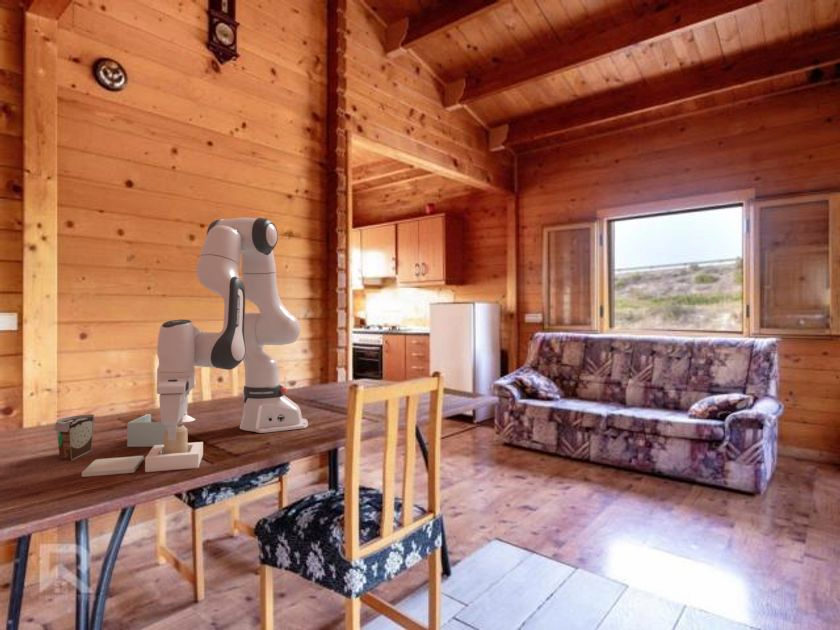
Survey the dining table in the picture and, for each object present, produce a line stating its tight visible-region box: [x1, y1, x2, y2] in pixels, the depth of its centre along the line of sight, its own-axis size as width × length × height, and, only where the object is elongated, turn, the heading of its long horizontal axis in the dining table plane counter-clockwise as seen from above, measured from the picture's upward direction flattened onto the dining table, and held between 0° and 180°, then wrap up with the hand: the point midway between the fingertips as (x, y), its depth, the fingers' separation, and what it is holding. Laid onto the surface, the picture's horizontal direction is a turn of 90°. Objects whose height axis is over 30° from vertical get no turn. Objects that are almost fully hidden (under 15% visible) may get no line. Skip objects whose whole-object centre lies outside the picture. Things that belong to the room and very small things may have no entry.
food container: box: [53, 414, 96, 462], centre depth 134 cm, size 12×6×10 cm, turn 5°
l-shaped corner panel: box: [126, 413, 167, 448], centre depth 150 cm, size 12×12×8 cm
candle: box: [164, 423, 189, 454], centre depth 129 cm, size 6×6×10 cm
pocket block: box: [144, 441, 204, 473], centre depth 129 cm, size 12×12×4 cm
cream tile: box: [81, 455, 144, 478], centre depth 125 cm, size 11×11×1 cm
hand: (175, 435), depth 129 cm, fingers open, 8 cm apart
